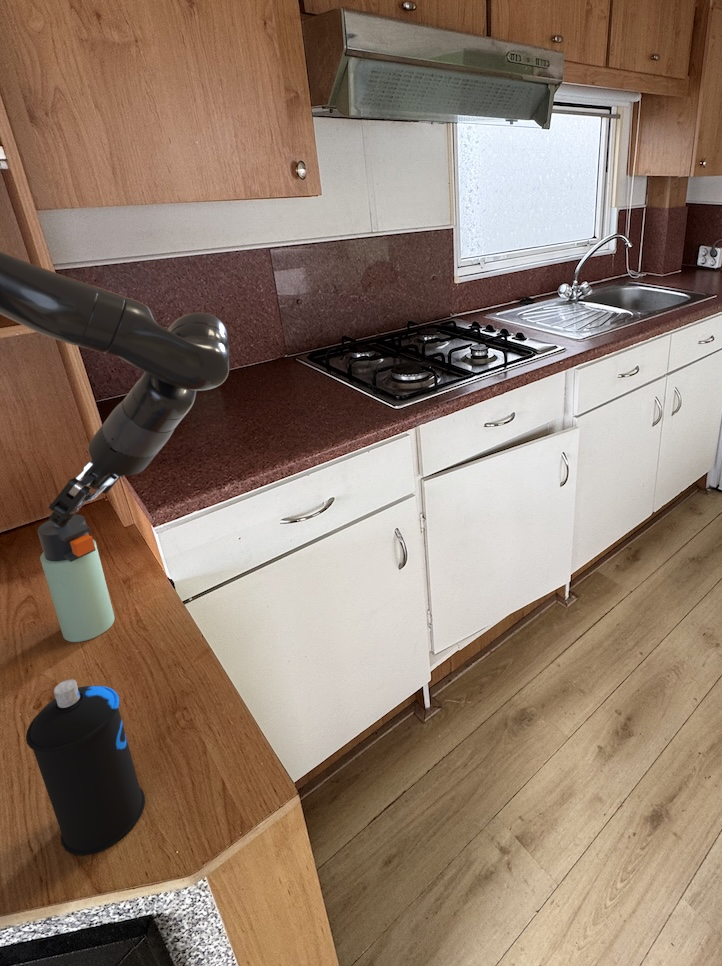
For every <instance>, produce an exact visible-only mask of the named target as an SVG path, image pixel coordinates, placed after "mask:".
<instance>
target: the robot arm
mask: <svg viewBox="0 0 722 966" xmlns="http://www.w3.org/2000/svg"><path fill="white" fill-rule="evenodd" d="M0 315H1V316H3V317H5V318H7V319H9V320H12V321H13V322H15V323H18V324H19V325H21V326H23V327H25V328H27V329H29V330H31V331H33V332H35V333H38V334H41V335H43V336H46V337H47V338H51V339H53V340H56V341H59V342H63V343H66V344H69V345H72V346H76V347H78V348H83V349H86V350H90V351H93V352H96V353H100V354H104V355H108V356H111V357H115V358H118V359H120V360H122V361H124V362H126V363H127V364H129V365H131V366H132V367H134V368H136V369H138V370H140V371H142V372H143V374H142V375H141V376H140V378H139V379H138V380H137V381H136V382H135V384H134V385H133V387H132V388H131V389H130V390H129V392H128V393H127V395H125V397H124V398H123V400H122V401H121V402H119V403H118V404H117V405H116V406H115V407H114V409H112V410H111V412H110V413H109V415H108V416H107V418H106V419H105V420H104V422H103V423H102V424H101V426H100V427H99V429H98V430H97V431H96V432H95V434H94V435H93V437H92V438H91V439H90V441H89V444H88V453H89V457H90V458H91V460H90V461H89V462H88V463H86V465H85V466H84V467H83V470H82V472H81V473H80V474H78V475H77V476H76V477H73V478H70V479H69V480H68V482H67V484H66V485H65V486H64V487H63V488H62V490H61V491H60V492H59V494H58V495H57V496H56V497H55V499H54V500H53V501H52V502H51V503H50V504H49V506H48V509H49V510H50V511H52V512H51V514H50V515H49V517H48V521H49V520H50V521H51V522H53V523H54V524H56V525H57V526H59V527H64V526H65V525H67V524H68V523H69V521H70V520H71V519H72V517H73V516H74V515H75V514H77V513H78V512H79V511H80V509H81V508H82V507H84V506H85V504H87V502H92V501H94V500H96V499H97V498H98V497H99V495H100V494H104V495H105V494H108V493H109V492H110V491H111V490H112V489H113V487H114V486H115V484H117V482H118V481H119V480H120V479H121V478H124V477H127V476H134V475H137V474H139V473H141V472H143V471H145V469H146V468H147V467H148V466H149V465H150V463H151V462H152V461H153V459H154V458H156V456H157V455H158V453H159V452H160V451H161V449H163V447H164V446H165V445H166V444H167V442H168V441H169V439H170V438H171V436H172V435H173V433H174V431H175V430H176V428H177V427H178V425H179V424H180V423H181V422H182V420H183V419H184V418H185V416H186V415H187V414H188V413H189V412H190V410H191V409H192V407H193V406H194V403H195V401H196V397H197V392H202V391H208V390H212V389H215V388H218V387H219V386H221V385H222V384H223V383H224V382H225V381H226V380H227V378H228V376H229V373H230V369H231V368H230V366H231V361H230V337H229V333H228V330H227V328H226V326H225V324H224V323H223V322H222V321H221V320H220V319H219V318H218V317H216V316H214V315H213V314H211V313H208V312H200V311H197V312H190V313H186V314H184V315H182V316H180V317H178V318H177V319H175V321H173V322H172V323H171V324H170V325H169V326H168V327H167V329H166V328H164V327H163V326H161V325H159V324H158V323H157V322H156V320H155V318H154V316H153V313H152V311H151V309H150V308H149V307H148V306H147V305H146V304H144V303H143V302H140V301H138V300H136V299H133V298H130V297H127V296H125V295H122V294H119V293H116V292H114V291H110V290H107V289H105V288H102V287H99V286H97V285H94V284H93V285H92V284H90V283H87V282H84V281H81V280H78V279H75V278H72V277H69V276H66V275H63V274H60V273H57V272H55V271H52V270H49V269H46V268H43V267H41V266H39V265H36V264H33V263H30V262H28V261H25V260H23V259H20V258H18V257H15V256H12V255H10V254H7V253H5V252H3V251H0ZM92 490H95V491H94V492H93V493H91V491H92Z"/></svg>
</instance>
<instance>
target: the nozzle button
mask: <svg viewBox="0 0 722 966" xmlns="http://www.w3.org/2000/svg"><path fill="white" fill-rule="evenodd" d="M93 540H94V538H93V536H92V535H90V534H89V535H87V534H86V535H84V536H81V537H79V538H77V539H75V540H72V541H70V544H71V548H72V552H73V554H74V555H76V556H78V557H80V556H82V555H84V554H86V553H88V552H90V551H92V550H94V549H95V546H94V542H93Z"/></svg>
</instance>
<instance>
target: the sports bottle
mask: <svg viewBox="0 0 722 966" xmlns="http://www.w3.org/2000/svg"><path fill="white" fill-rule="evenodd" d="M91 531H92V530H91V527H90V526H88V525H87V522H86V518H85V516H83V515H81V514H77V513H76V514H75V515H74V516H73V517H72V519H71V520H70V521H69V523H68V524H67V525H65V526H64V527H59V526H57V525H56V524H54V523H53V522H51V521H50V520H49V519H48V520H46V521H44V522H43V523H42V524H40V526H39V527H38V528H37V534H38V538H39V541H40V545H41V548H42V554H40V556H39V559H40V560H39V561H40V564H41V566H42V570H43V573H44V577H45V580H46V584H47V587H48V590H49V594H50V597H51V600H52V601H51V602H52V604H53V607H54V611H55V614H56V618H57V620H58V624H59V628H60V631H61V634H62V637H63V639H64V640H65V641H67V642H70V643H82V642H86V641H89V640H92V639H94V638H96V637H99V636H101V635H102V634H104V633H105V632H107V631H108V630H109V629H110V628H111V627H112V626H113V625H114V622H115V619H116V617H115V613H114V609H113V605H112V602H111V597H110V593H109V589H108V586H107V582H106V577H105V573H104V570H103V566H102V562H101V558H100V553H99V550H98V546H97V542H96V540H95V539H93V542H94V546H95V549H94V550H92V551H90V552H88V553H86V554H84V555H82V556H80V557H78V556H76V555H74V554H73V552H72V548H71V544H70V541H72V540H75V539H77V538H79V537H81V536H84V535H86V534H87V535H89V536H90V533H89V532H91Z"/></svg>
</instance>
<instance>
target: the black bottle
mask: <svg viewBox="0 0 722 966" xmlns="http://www.w3.org/2000/svg"><path fill="white" fill-rule="evenodd" d="M53 695H54V698H53V699H52V700H50V702H48V703H46V705H45V706H44V707H43V708H42V709H41V710H40V711H39V712H38V713H37V714H36V715H35V717H34V718H33V719H32V720H31V722H30V724H28V725H29V726H28V728H27V730H26V735H25V740H26V744H27V746H28V747H29V748H30V749H31V750H32V751H33V754H34V757H35V760H36V764H37V765H38V766H37V767H38V768H39V771H40V775H41V778H42V781H43V784H44V787H45V789H46V792H47V795H48V797H49V801H50V803H51V804H50V805H51V807H52V810H53V812H54V815H55V819H56V821H57V825H58V827H59V830H60V843H61V846H62V848H63V849H64V850H65V851H66V852H68V853H69V854H71V855H74V856H89V855H93V854H98V853H99V852H102V851H104V850H106V849H108V848H110V847H112V846H113V845H115V844H116V843H118V842H119V841H120V840H122V839H123V838H124V837H126V835H127V834H128V833H129V832H131V831H132V830H133V828H134V827H135V826H136V824H137V823H138V821H139V820H140V818H141V817H142V814H143V812H144V809H145V805H146V796H145V793H144V791H143V789H142V788H141V787H140V784H139V783H140V782H139V780H138V777H137V773H136V772H137V771H136V769H135V764H134V760H133V758H132V754H131V749H130V746H129V742H128V738H127V735H126V731H125V728H124V723H123V720H122V716H121V712H120V708H119V707H120V697H119V695H118V693H117V692H116V691H115V690H114V689H113V688H110V687H108V686H105V685H104V686H103V685H85V686H78V683H77V681H76V680H75V679H66V680H63V681H61V682H60V683H58V684H57V685H56V686H55V687H54V689H53Z"/></svg>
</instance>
